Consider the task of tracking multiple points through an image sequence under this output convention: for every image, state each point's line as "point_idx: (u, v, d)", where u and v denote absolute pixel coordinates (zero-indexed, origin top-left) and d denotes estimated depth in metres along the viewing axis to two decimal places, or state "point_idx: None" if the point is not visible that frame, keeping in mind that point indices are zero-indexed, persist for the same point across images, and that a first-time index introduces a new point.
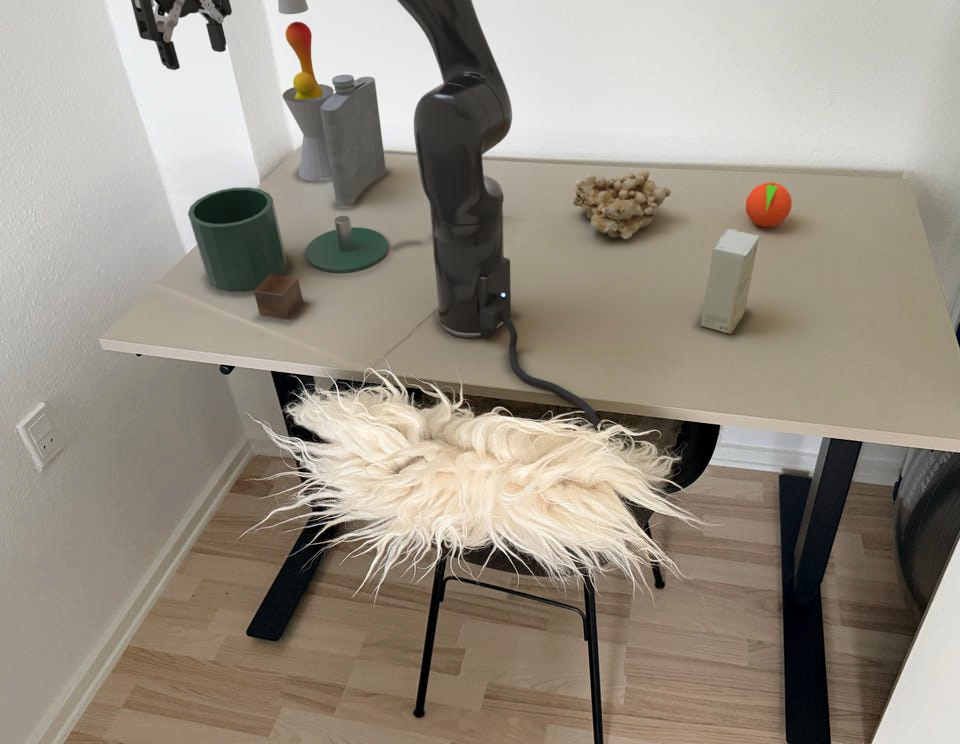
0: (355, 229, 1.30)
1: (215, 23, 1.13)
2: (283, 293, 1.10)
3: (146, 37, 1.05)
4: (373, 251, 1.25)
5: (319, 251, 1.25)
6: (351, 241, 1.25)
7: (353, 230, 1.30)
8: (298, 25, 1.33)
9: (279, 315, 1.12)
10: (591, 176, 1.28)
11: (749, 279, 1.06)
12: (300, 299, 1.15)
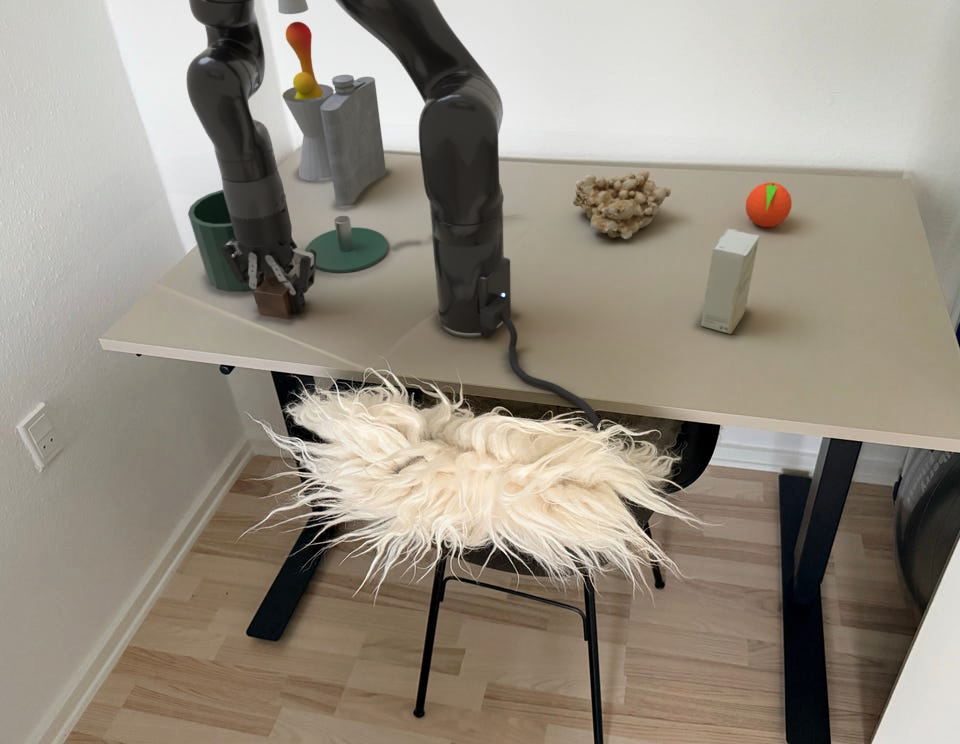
0: (355, 229, 1.30)
1: None
2: (283, 293, 1.10)
3: None
4: (373, 251, 1.25)
5: (319, 251, 1.25)
6: (351, 241, 1.25)
7: (353, 230, 1.30)
8: (298, 24, 1.33)
9: (279, 315, 1.12)
10: (591, 176, 1.28)
11: (749, 279, 1.06)
12: None
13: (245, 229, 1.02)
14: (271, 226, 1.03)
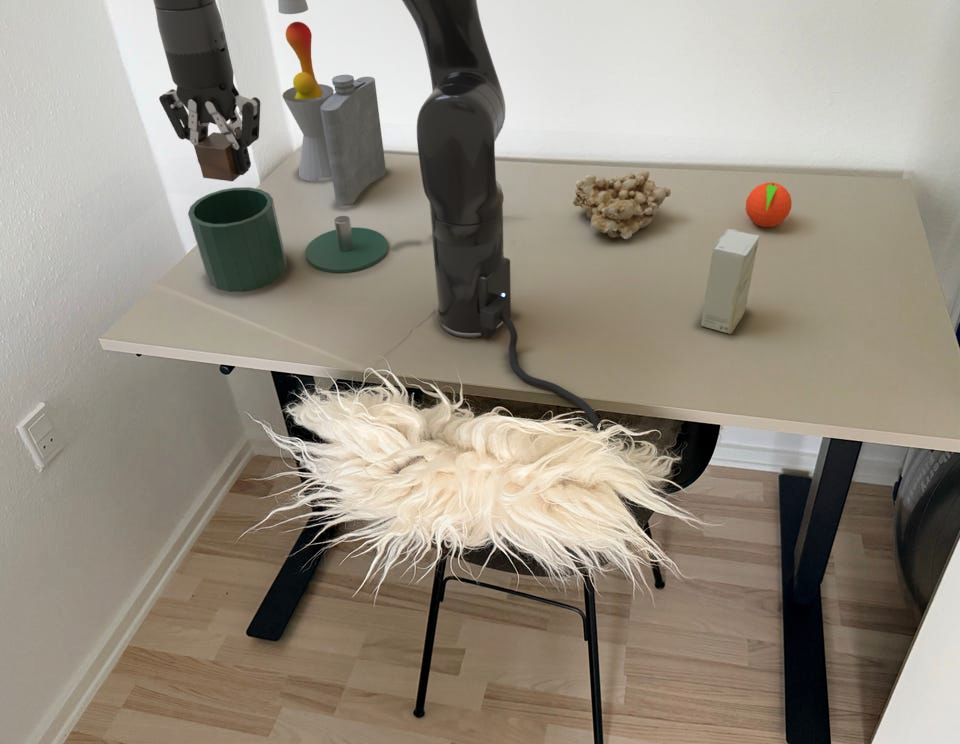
0: (355, 229, 1.30)
1: None
2: (225, 147, 1.04)
3: None
4: (373, 251, 1.25)
5: (319, 251, 1.25)
6: (351, 241, 1.25)
7: (353, 230, 1.30)
8: (298, 24, 1.33)
9: (222, 173, 1.06)
10: (591, 176, 1.28)
11: (749, 279, 1.06)
12: None
13: (182, 68, 0.97)
14: (209, 65, 0.97)
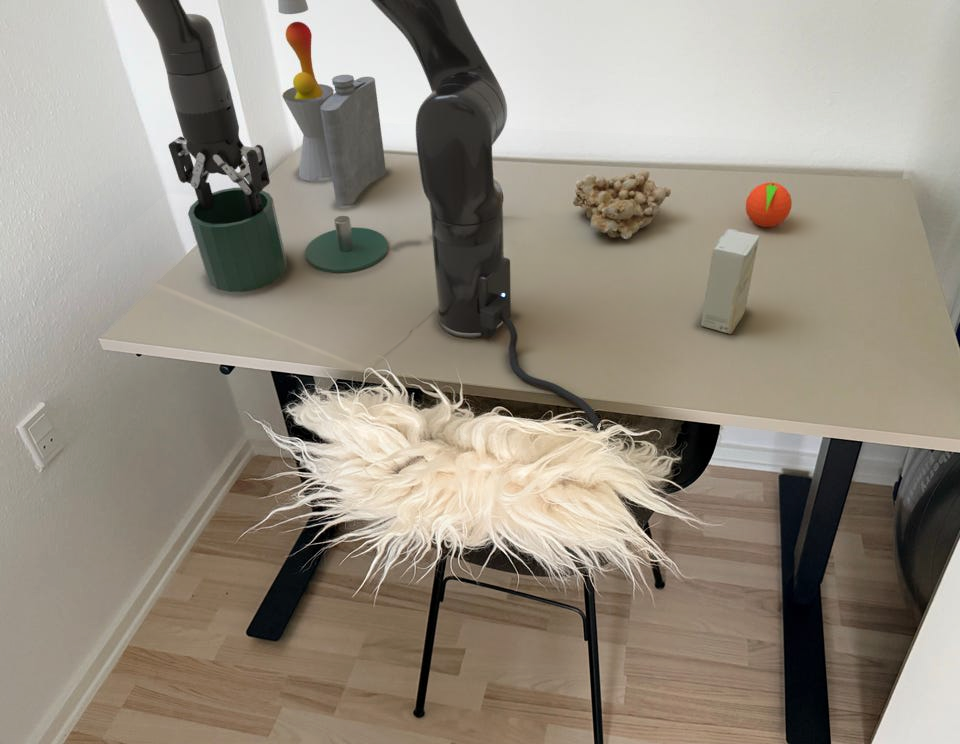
0: (355, 229, 1.30)
1: None
2: None
3: None
4: (373, 251, 1.25)
5: (319, 251, 1.25)
6: (351, 241, 1.25)
7: (353, 230, 1.30)
8: (298, 24, 1.33)
9: None
10: (591, 176, 1.28)
11: (749, 279, 1.06)
12: None
13: (191, 126, 1.05)
14: (217, 122, 1.05)
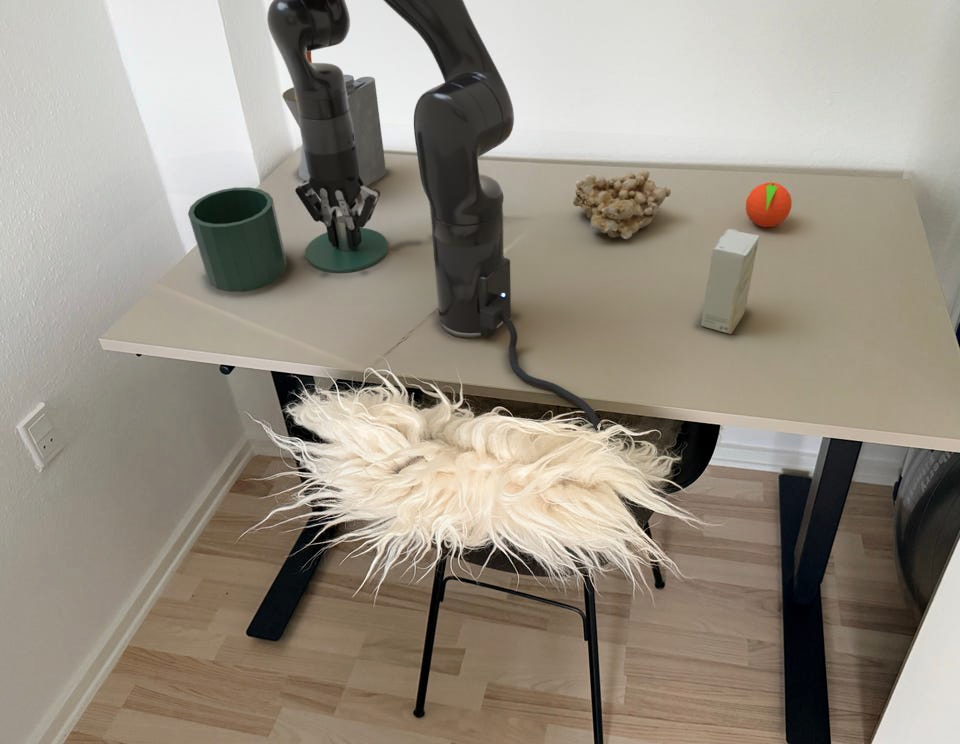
0: None
1: None
2: None
3: None
4: (373, 251, 1.25)
5: (319, 251, 1.25)
6: None
7: None
8: None
9: None
10: (591, 176, 1.28)
11: (749, 279, 1.06)
12: None
13: (320, 165, 1.13)
14: (343, 162, 1.14)
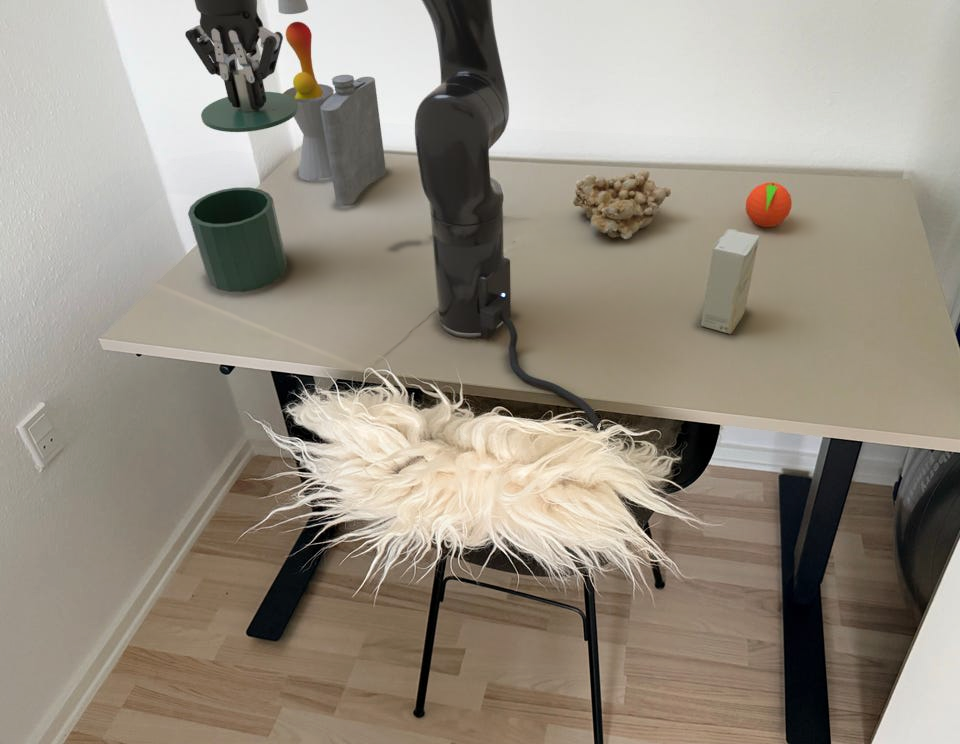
0: None
1: None
2: None
3: None
4: (279, 112, 1.08)
5: (217, 112, 1.08)
6: None
7: None
8: (298, 24, 1.33)
9: None
10: (591, 176, 1.28)
11: (749, 279, 1.06)
12: None
13: None
14: None
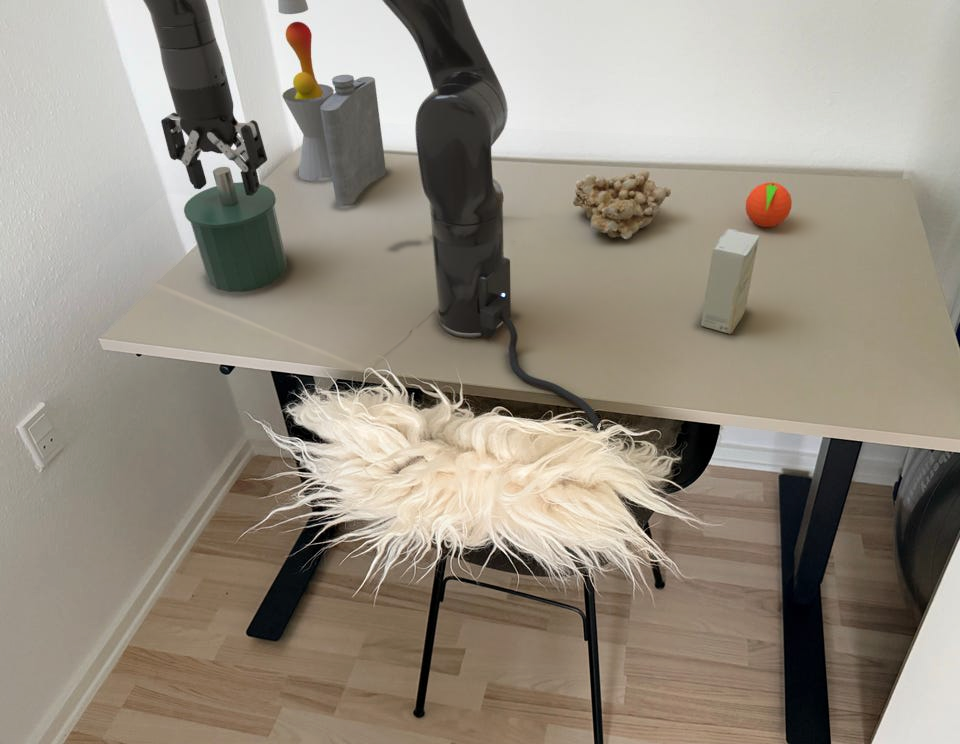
0: None
1: None
2: None
3: None
4: (257, 205, 1.15)
5: (199, 206, 1.15)
6: (233, 195, 1.14)
7: (241, 185, 1.20)
8: (298, 24, 1.33)
9: None
10: (591, 176, 1.28)
11: (749, 279, 1.06)
12: None
13: (185, 102, 1.03)
14: (210, 99, 1.03)
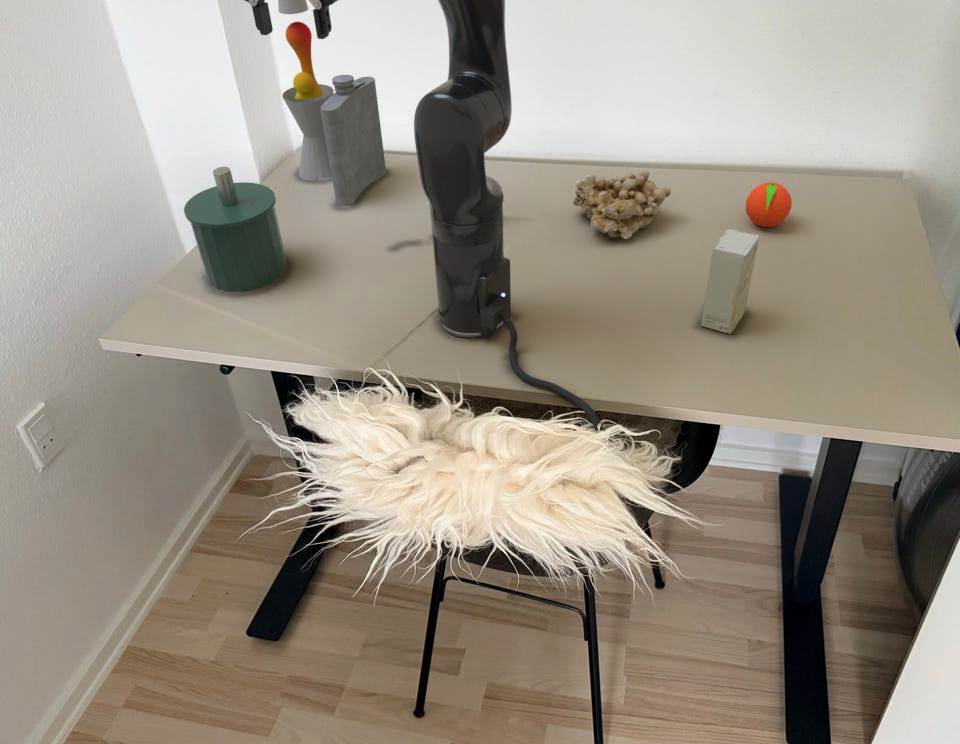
0: (243, 184, 1.20)
1: None
2: None
3: None
4: (257, 205, 1.15)
5: (199, 206, 1.15)
6: (233, 195, 1.14)
7: (241, 185, 1.20)
8: (298, 24, 1.33)
9: None
10: (591, 176, 1.28)
11: (749, 279, 1.06)
12: None
13: None
14: None
